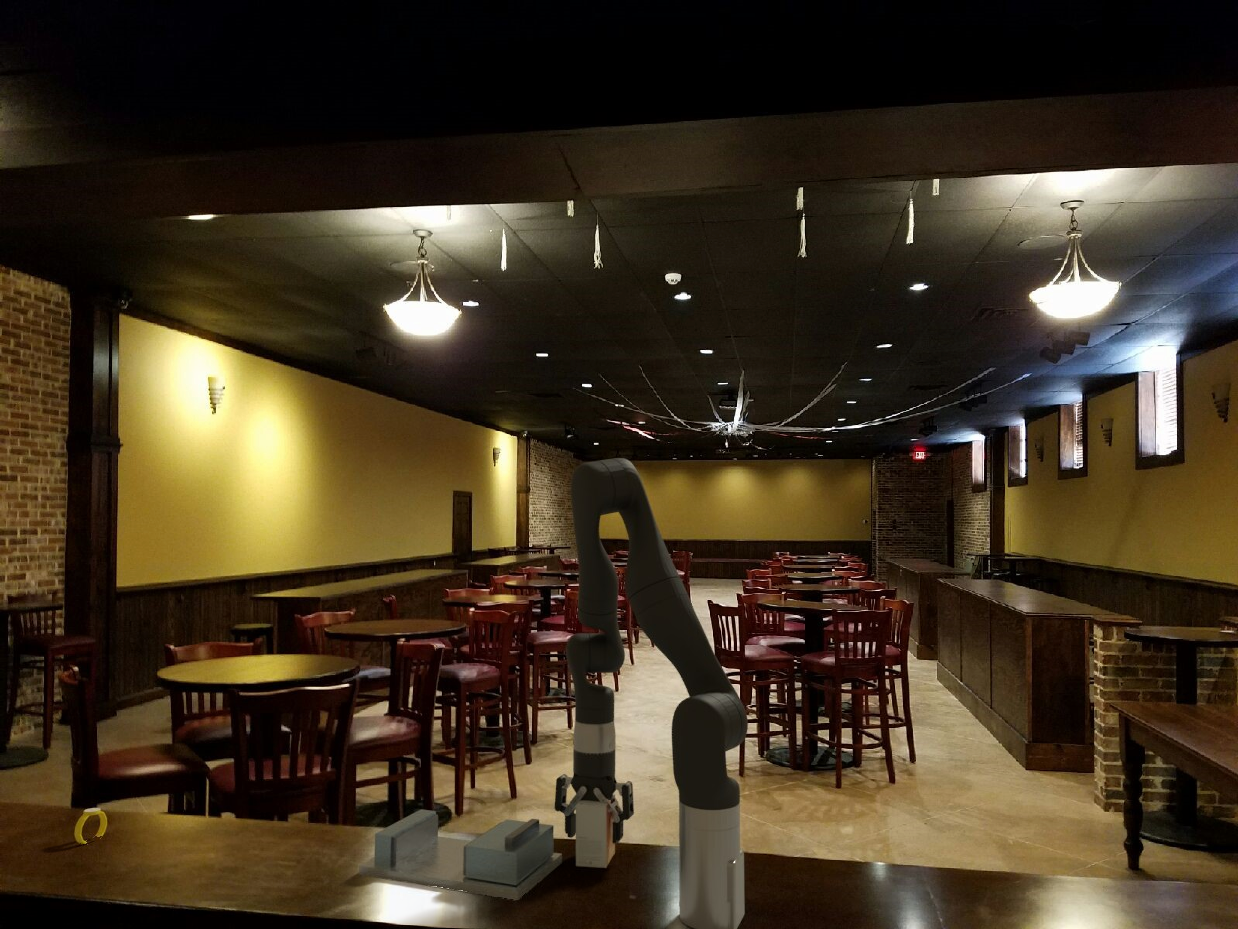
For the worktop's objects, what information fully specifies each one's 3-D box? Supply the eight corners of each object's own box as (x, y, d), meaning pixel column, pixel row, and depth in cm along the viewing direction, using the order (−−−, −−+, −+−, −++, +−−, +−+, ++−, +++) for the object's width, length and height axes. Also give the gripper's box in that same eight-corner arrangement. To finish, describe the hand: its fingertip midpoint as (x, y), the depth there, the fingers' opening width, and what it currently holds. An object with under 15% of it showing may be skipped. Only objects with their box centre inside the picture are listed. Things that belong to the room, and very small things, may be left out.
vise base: (562, 862, 154) (562, 824, 154) (517, 901, 138) (517, 858, 138) (415, 841, 164) (416, 805, 165) (358, 874, 148) (359, 835, 149)
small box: (606, 869, 151) (606, 806, 152) (574, 867, 152) (575, 804, 153) (615, 852, 159) (615, 793, 159) (585, 850, 160) (586, 791, 161)
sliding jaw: (553, 855, 153) (553, 817, 153) (516, 885, 140) (516, 843, 140) (502, 847, 156) (502, 810, 157) (461, 876, 143) (462, 836, 144)
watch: (97, 838, 167) (100, 805, 168) (108, 839, 166) (112, 806, 167) (69, 846, 161) (73, 812, 162) (81, 848, 161) (85, 814, 162)
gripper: (638, 745, 158) (638, 837, 157) (566, 738, 163) (565, 827, 161) (625, 755, 151) (624, 852, 150) (549, 747, 156) (548, 841, 154)
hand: (593, 839), depth 155 cm, fingers open, 8 cm apart
